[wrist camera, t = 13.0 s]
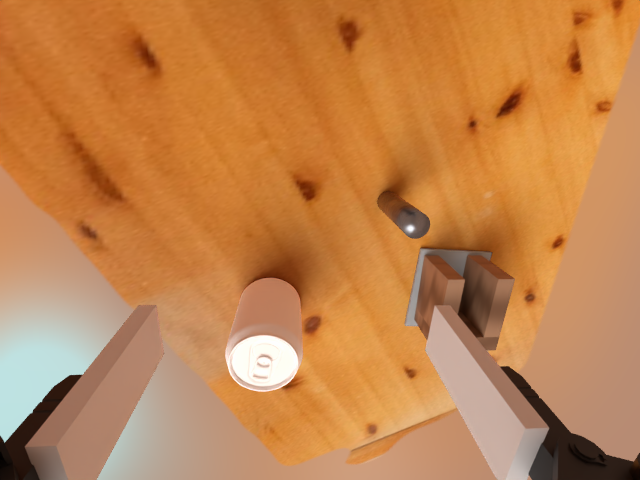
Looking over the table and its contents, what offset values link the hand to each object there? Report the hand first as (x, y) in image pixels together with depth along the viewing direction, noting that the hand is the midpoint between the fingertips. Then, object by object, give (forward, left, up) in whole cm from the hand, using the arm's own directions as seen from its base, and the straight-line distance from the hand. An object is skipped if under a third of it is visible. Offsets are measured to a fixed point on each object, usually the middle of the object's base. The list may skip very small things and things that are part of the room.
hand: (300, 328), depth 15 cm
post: (-1, +12, -26) cm, 28 cm away
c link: (+11, +22, -25) cm, 35 cm away
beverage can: (+14, -2, -26) cm, 29 cm away
